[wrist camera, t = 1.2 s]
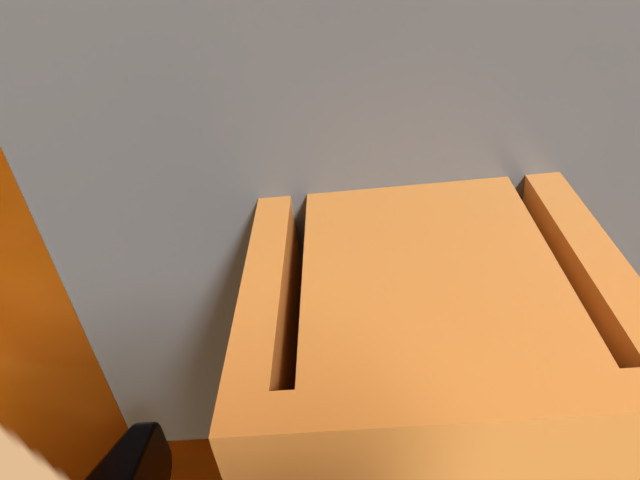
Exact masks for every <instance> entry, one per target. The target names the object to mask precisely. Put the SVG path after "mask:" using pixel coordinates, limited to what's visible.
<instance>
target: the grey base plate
mask: <svg viewBox="0 0 640 480" xmlns="http://www.w3.org/2000/svg"><path fill="white" fill-rule="evenodd" d="M0 146H1V148H2V151H3V153H4V155H5V157H6V159H7V162H8V164H9V166H10V168H11V170H12V173H13V175H14V177H15V179H16V181H17V184H18V186H19V188H20V190H21V193H22V195H23V197H24V199H25V201H26V204H27V206H28V208H29V210H30V212H31V215H32V217H33V219H34V221H35V223H36V226H37V228H38V230H39V232H40V234H41V237H42V239H43V241H44V243H45V246H46V248H47V250H48V252H49V254H50V257H51V259H52V261H53V263H54V265H55V268H56V270H57V272H58V274H59V276H60V279H61V281H62V283H63V285H64V287H65V290H66V292H67V294H68V296H69V299H70V301H71V303H72V305H73V307H74V310H75V312H76V314H77V316H78V318H79V321H80V323H81V325H82V327H83V329H84V332H85V334H86V336H87V338H88V341H89V343H90V345H91V347H92V349H93V352H94V354H95V356H96V358H97V360H98V363H99V365H100V367H101V369H102V371H103V374H104V376H105V378H106V380H107V382H108V385H109V387H110V389H111V391H112V394H113V396H114V398H115V400H116V402H117V405H118V407H119V409H120V411H121V413H122V416H123V418H124V420H125V422H126V424H127V427H128V429H129V428H130V427H131V426H132V425H133V424H135V423H139V422H158V423H159V424H160V425H161V427H162V430H163V432H164V435H165V437H166V440H167V441H179V440H196V439H208V438H209V433H210V428H211V423H212V418H213V414H214V409H215V404H216V399H217V394H218V390H219V385H220V380H221V375H222V371H223V366H224V361H225V356H226V351H227V347H228V342H229V337H230V332H231V327H232V323H233V318H234V313H235V308H236V303H237V299H238V294H239V289H240V284H241V279H242V275H243V270H244V265H245V260H246V255H247V251H248V246H249V241H250V236H251V232H252V227H253V222H254V217H255V212H256V208H257V203H258V199H259V198H270V197H281V196H291V200H292V207H293V213H294V220H295V226H296V233H297V239H298V245H299V252H300V258H301V265H302V268H303V252H304V236H305V220H306V204H307V194H315V193H327V192H338V191H349V190H361V189H372V188H383V187H395V186H406V185H417V184H429V183H440V182H451V181H463V180H474V179H485V178H496V177H509V179H510V181H511V182H512V184H513V186H514V187H515V189H516V191H517V193H518V194H519V196H520V198H521V200H522V201H523V192H524V182H525V175H530V174H542V173H553V172H560V173H561V174H562V175H563V177H564V178H565V179H566V181H567V182H568V183H569V185H570V186H571V187H572V189H573V190H574V191H575V192H576V194H577V195H578V196H579V198H580V199H581V200H582V202H583V203H584V204H585V206H586V207H587V208H588V210H589V211H590V212H591V214H592V215H593V216H594V218H595V219H596V220H597V221H598V223H599V224H600V225H601V227H602V228H603V229H604V231H605V232H606V233H607V235H608V236H609V237H610V239H611V240H612V241H613V243H614V244H615V245H616V246H617V248H618V249H619V250H620V252H621V253H622V254H623V256H624V257H625V258H626V260H627V261H628V262H629V264H630V265H631V266H632V268H633V269H634V270H635V272H636V273H637V274H638V275H639V277H640V0H0Z"/></svg>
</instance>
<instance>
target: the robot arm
mask: <svg viewBox="0 0 640 480" xmlns="http://www.w3.org/2000/svg"><path fill="white" fill-rule="evenodd" d="M171 469H172V454H171V450H170V447H169V445H168V442H167V440H166V437H165V435H164V432H163V430H162V427H161V425H160V424H159V423H158V422H139V423H135V424H133V425H132V426H131V427H130V428H129V429H128V430H127V431H126V432H125V433H124V434H123V436H122V437H121V438H120V439H119V440H118V441H117V442H116V444H115V445H114V446H113V447H112V448H111V449H110V450H109V452H108V453H107V454H106V455H105V456H104V457H103V458H102V460H101V461H100V462H99V463H98V464H97V465H96V466H95V468H94V469H93V470H92V471H91V472H90V473H89V475H88V476H87V477H86V478H85V479H84V480H170V477H171Z"/></svg>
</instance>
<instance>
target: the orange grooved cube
mask: <svg viewBox="0 0 640 480" xmlns="http://www.w3.org/2000/svg"><path fill="white" fill-rule="evenodd" d="M208 439H209V442H210V445H211V448H212V451H213V454H214V457H215V460H216V463H217V466H218V469H219V472H220V475H221V478H222V480H640V277H639V275H638V274H637V273H636V272H635V270H634V269H633V268H632V266H631V265H630V264H629V262H628V261H627V260H626V258H625V257H624V256H623V254H622V253H621V252H620V250H619V249H618V248H617V246H616V245H615V244H614V243H613V241H612V240H611V239H610V237H609V236H608V235H607V233H606V232H605V231H604V229H603V228H602V227H601V225H600V224H599V223H598V221H597V220H596V219H595V218H594V216H593V215H592V214H591V212H590V211H589V210H588V208H587V207H586V206H585V204H584V203H583V202H582V200H581V199H580V198H579V196H578V195H577V194H576V192H575V191H574V190H573V189H572V187H571V186H570V185H569V183H568V182H567V181H566V179H565V178H564V177H563V175H562V174H561V173H560V172H553V173H542V174H530V175H525V182H524V192H523V201H522V200H521V198H520V196H519V194H518V193H517V191H516V189H515V187H514V186H513V184H512V182H511V181H510V179H509V177H496V178H485V179H474V180H463V181H451V182H440V183H429V184H417V185H406V186H395V187H383V188H372V189H361V190H349V191H338V192H327V193H315V194H307V204H306V220H305V236H304V252H303V268H302V265H301V258H300V252H299V245H298V239H297V233H296V226H295V220H294V213H293V207H292V200H291V196H281V197H270V198H259V199H258V203H257V208H256V212H255V217H254V222H253V227H252V232H251V236H250V241H249V246H248V251H247V255H246V260H245V265H244V270H243V275H242V279H241V284H240V289H239V294H238V299H237V303H236V308H235V313H234V318H233V323H232V327H231V332H230V337H229V342H228V347H227V351H226V356H225V361H224V366H223V371H222V375H221V380H220V385H219V390H218V394H217V399H216V404H215V409H214V414H213V418H212V423H211V428H210V433H209V438H208Z"/></svg>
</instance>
